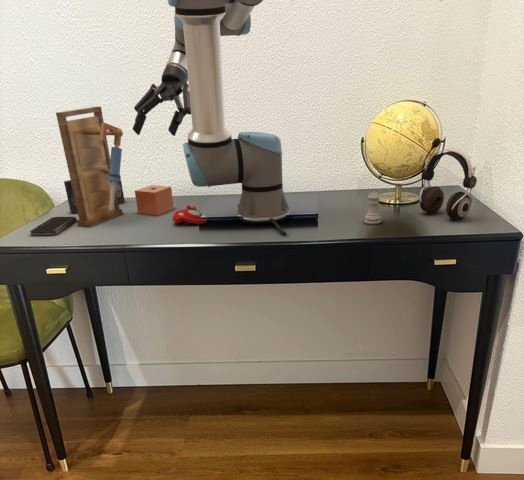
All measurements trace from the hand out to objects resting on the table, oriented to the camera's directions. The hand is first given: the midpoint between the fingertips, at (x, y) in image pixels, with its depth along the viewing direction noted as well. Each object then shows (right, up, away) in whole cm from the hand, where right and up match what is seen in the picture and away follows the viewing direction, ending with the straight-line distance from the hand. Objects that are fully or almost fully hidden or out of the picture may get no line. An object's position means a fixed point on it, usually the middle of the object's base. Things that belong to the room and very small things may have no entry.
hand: (153, 132), depth 160 cm
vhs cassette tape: (-21, -18, +17) cm, 33 cm away
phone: (-29, -29, -2) cm, 41 cm away
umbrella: (-11, -26, -10) cm, 30 cm away
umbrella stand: (-1, -21, +9) cm, 23 cm away
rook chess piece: (+63, -30, -13) cm, 71 cm away
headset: (+83, -28, -12) cm, 88 cm away
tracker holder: (+12, -27, -3) cm, 30 cm away
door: (-11, -27, 0) cm, 29 cm away
